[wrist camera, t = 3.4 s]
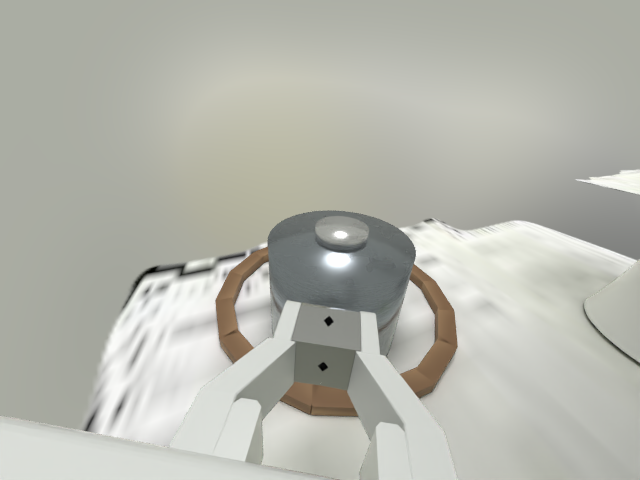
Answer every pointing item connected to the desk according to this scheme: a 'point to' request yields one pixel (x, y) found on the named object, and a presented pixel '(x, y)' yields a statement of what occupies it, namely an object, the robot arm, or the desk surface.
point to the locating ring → (329, 398)
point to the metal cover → (341, 266)
